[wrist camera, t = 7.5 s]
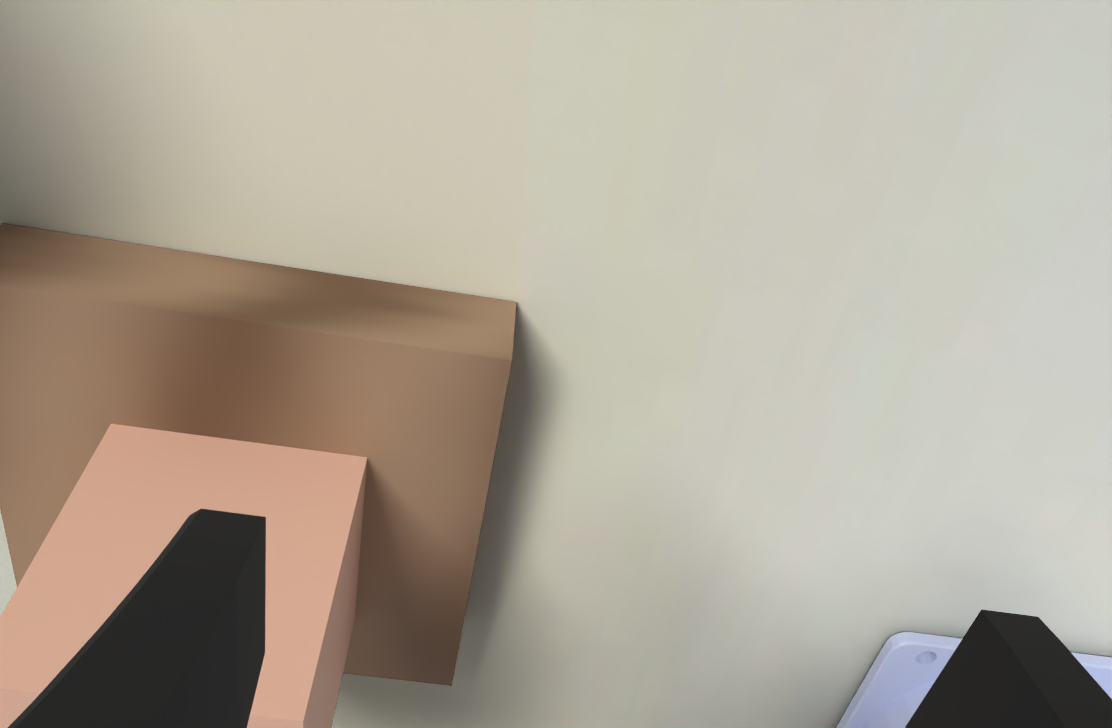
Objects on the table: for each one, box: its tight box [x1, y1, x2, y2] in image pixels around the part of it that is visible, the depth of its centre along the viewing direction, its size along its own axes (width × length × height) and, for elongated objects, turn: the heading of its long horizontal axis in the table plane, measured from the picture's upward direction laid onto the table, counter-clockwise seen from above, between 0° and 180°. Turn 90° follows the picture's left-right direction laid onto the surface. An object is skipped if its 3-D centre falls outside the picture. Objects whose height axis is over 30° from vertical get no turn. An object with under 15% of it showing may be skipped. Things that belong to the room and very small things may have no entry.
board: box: [0, 223, 516, 686], centre depth 22 cm, size 10×10×2 cm
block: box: [0, 424, 367, 728], centre depth 19 cm, size 5×5×6 cm
